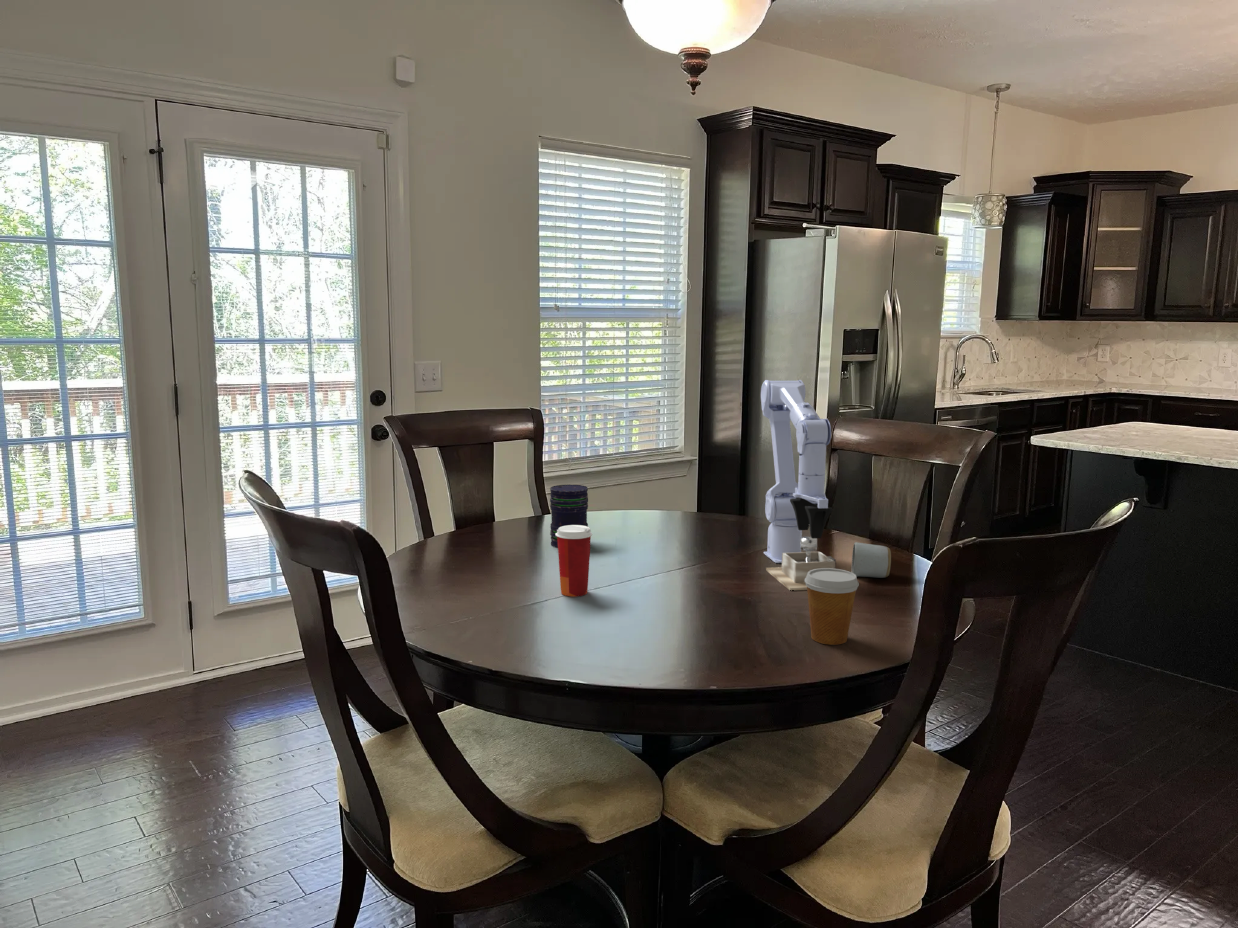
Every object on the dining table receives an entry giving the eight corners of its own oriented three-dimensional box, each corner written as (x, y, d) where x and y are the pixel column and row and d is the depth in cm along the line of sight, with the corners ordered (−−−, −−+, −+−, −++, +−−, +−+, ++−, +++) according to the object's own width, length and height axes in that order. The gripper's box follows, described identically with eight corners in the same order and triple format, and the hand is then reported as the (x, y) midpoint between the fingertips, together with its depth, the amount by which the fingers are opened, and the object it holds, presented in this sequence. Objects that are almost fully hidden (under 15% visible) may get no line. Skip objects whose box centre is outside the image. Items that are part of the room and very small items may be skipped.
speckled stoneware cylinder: (890, 581, 191) (892, 548, 190) (852, 579, 193) (854, 546, 192) (885, 569, 202) (886, 537, 201) (849, 568, 203) (850, 536, 202)
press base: (766, 570, 200) (766, 549, 199) (823, 568, 202) (824, 547, 201) (789, 590, 185) (790, 568, 184) (851, 587, 187) (852, 565, 186)
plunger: (788, 563, 196) (789, 535, 195) (816, 562, 197) (817, 534, 196) (798, 571, 189) (799, 542, 188) (827, 570, 190) (828, 541, 189)
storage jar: (595, 542, 225) (595, 486, 223) (573, 550, 217) (573, 492, 215) (564, 537, 231) (564, 483, 228) (542, 545, 223) (542, 488, 220)
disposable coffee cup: (795, 630, 160) (798, 567, 158) (845, 629, 161) (848, 566, 159) (811, 649, 151) (814, 582, 149) (864, 647, 151) (867, 581, 150)
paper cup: (597, 589, 185) (597, 525, 183) (584, 599, 178) (584, 533, 176) (563, 585, 187) (563, 523, 185) (549, 595, 180) (549, 530, 178)
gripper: (783, 468, 196) (781, 527, 198) (806, 479, 182) (804, 542, 184) (812, 468, 197) (810, 526, 199) (838, 478, 183) (835, 541, 185)
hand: (809, 533), depth 192 cm, fingers open, 7 cm apart
